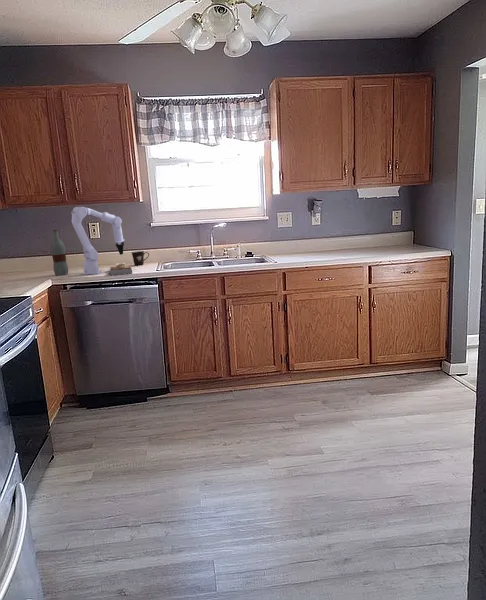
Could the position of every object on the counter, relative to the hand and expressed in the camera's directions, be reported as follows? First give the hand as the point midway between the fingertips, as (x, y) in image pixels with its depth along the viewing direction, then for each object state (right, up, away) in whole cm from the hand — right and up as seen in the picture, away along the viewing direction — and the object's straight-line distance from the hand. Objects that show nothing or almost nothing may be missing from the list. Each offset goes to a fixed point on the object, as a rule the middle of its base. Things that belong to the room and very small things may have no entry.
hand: (121, 253), depth 321 cm
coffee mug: (+10, -7, +17) cm, 21 cm away
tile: (+2, -10, -8) cm, 13 cm away
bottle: (-38, -15, -8) cm, 42 cm away
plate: (+1, -12, -6) cm, 14 cm away
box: (+4, -15, -17) cm, 23 cm away
